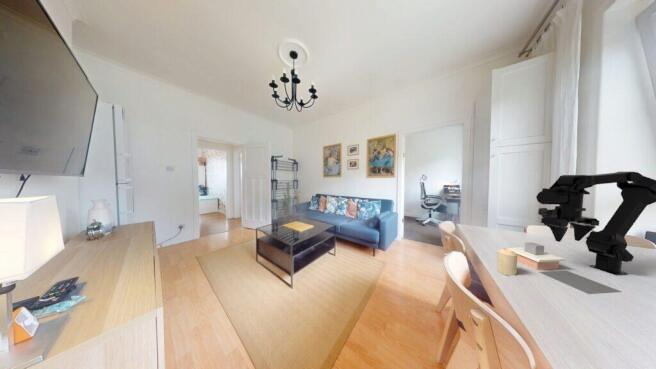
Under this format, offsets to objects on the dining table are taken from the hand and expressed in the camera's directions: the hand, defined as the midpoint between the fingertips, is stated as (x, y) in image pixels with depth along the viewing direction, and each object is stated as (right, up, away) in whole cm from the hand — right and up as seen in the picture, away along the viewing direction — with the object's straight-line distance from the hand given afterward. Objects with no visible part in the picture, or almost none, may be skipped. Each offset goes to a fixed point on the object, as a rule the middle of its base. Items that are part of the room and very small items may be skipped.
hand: (567, 241), depth 74 cm
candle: (-29, -13, -3) cm, 31 cm away
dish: (-10, -12, +4) cm, 16 cm away
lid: (-10, -7, +4) cm, 13 cm away
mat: (-9, -13, -9) cm, 18 cm away
